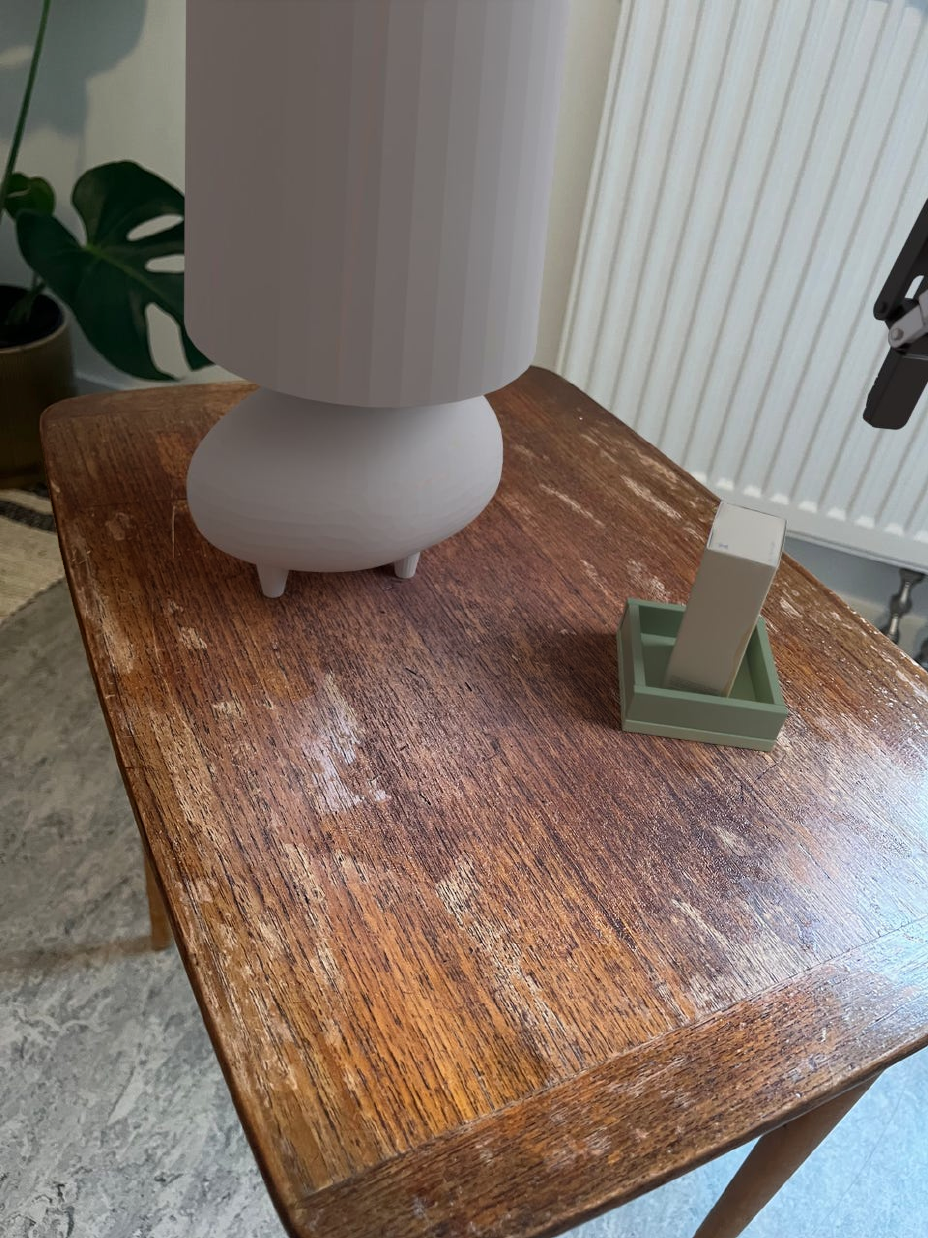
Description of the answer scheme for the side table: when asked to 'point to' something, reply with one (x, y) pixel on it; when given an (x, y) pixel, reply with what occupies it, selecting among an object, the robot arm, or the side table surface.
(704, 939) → the side table surface
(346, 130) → the table lamp
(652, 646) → the green open storage bin
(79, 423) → the side table surface
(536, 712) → the side table surface
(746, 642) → the cosmetic box
